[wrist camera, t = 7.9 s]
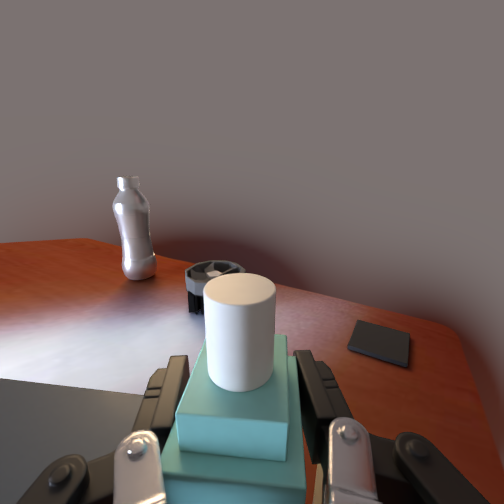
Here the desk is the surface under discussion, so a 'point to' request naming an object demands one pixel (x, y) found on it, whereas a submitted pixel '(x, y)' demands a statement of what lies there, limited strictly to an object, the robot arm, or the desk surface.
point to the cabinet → (56, 428)
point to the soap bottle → (238, 406)
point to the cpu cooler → (206, 279)
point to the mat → (380, 342)
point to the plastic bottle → (134, 229)
